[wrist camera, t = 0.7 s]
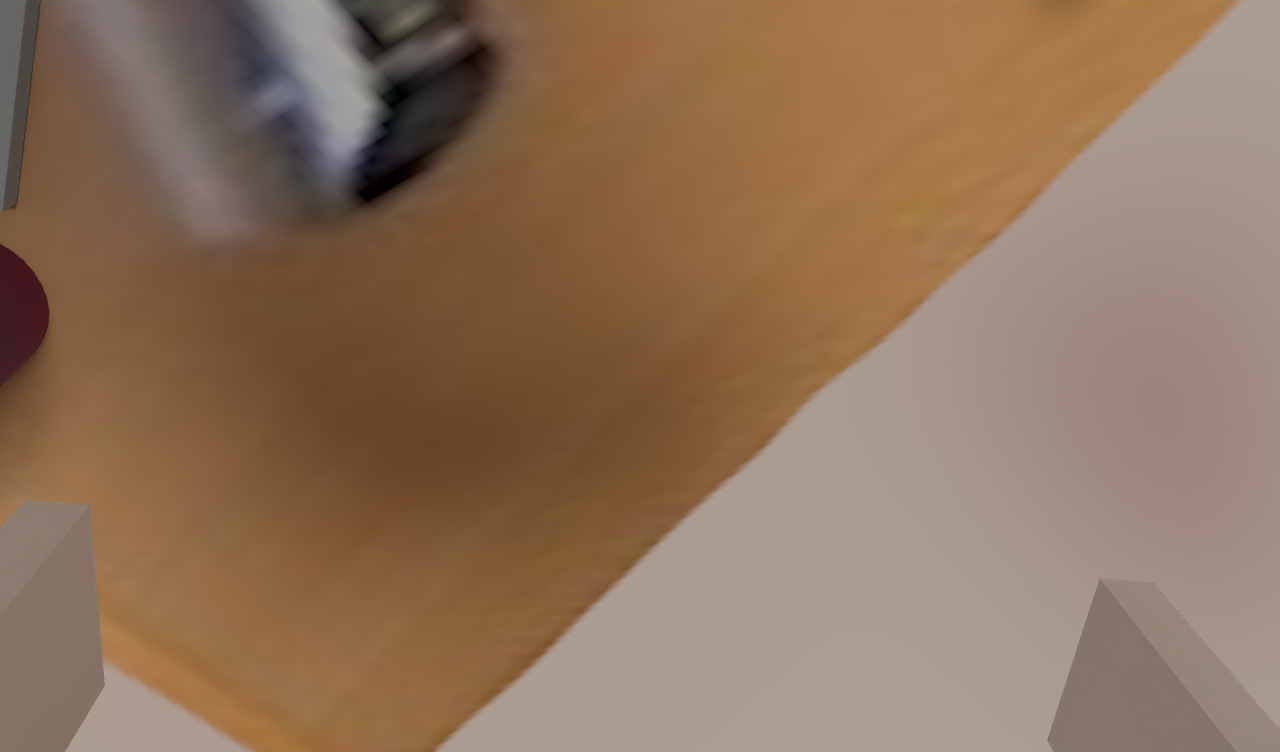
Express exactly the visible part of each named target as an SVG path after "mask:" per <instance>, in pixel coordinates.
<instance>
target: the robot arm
mask: <svg viewBox="0 0 1280 752" xmlns="http://www.w3.org/2000/svg"><path fill="white" fill-rule="evenodd" d="M103 688H104V672H103V659H102V647H101V635H100V622H99V610H98V598H97V585H96V573H95V560H94V548H93V536H92V523H91V511H90V505H86V504H72V503H59V502H45V501H31V500H25V501H24V502H23V503H22V504H21V505H20V506H19V507H18V508H17V510H16V511H15V512H14V513H13V514H12V515H11V516H10V517H9V518H8V519H7V520H6V521H5V522H4V524H3V525H2V526H1V527H0V752H65V751H66V749H67V747H68V746H69V744H70V742H71V740H72V739H73V737H74V736H75V734H76V732H77V731H78V729H79V727H80V726H81V724H82V722H83V721H84V719H85V717H86V716H87V714H88V713H89V711H90V709H91V707H92V706H93V704H94V702H95V701H96V699H97V697H98V696H99V694H100V693H101V691H102V689H103ZM1048 742H1049V744H1050V746H1051V747H1052V749H1053V751H1054V752H1280V729H1279V727H1278V726H1277V725H1276V724H1275V723H1274V722H1273V720H1271V718H1270V717H1269V716H1268V715H1267V714H1266V712H1265V711H1264V710H1263V709H1262V708H1261V707H1260V706H1259V704H1258V703H1257V702H1256V701H1255V700H1254V698H1253V697H1252V696H1251V695H1250V694H1249V693H1248V691H1247V690H1246V689H1245V688H1244V687H1243V686H1242V684H1241V683H1240V682H1239V681H1238V680H1237V679H1236V678H1235V676H1234V675H1233V674H1232V673H1231V672H1230V671H1229V669H1228V668H1227V667H1226V666H1225V665H1224V664H1223V662H1222V661H1221V660H1220V659H1219V658H1218V657H1217V656H1216V654H1215V653H1214V652H1213V651H1212V650H1211V649H1210V647H1209V646H1208V645H1207V644H1206V643H1205V642H1204V641H1203V639H1202V638H1201V637H1200V636H1199V635H1198V633H1197V632H1196V631H1195V630H1194V629H1193V628H1192V627H1191V625H1190V624H1189V623H1188V622H1187V621H1186V620H1185V618H1184V617H1183V616H1182V615H1181V614H1180V613H1179V611H1178V610H1177V609H1176V608H1175V607H1174V606H1173V604H1172V603H1171V602H1170V601H1169V600H1168V599H1167V597H1165V595H1164V594H1163V593H1162V592H1161V591H1160V590H1159V588H1158V587H1157V586H1156V585H1155V584H1154V583H1153V582H1141V581H1127V580H1114V579H1100V580H1099V583H1098V586H1097V589H1096V592H1095V595H1094V598H1093V601H1092V604H1091V607H1090V610H1089V614H1088V617H1087V620H1086V623H1085V626H1084V629H1083V632H1082V635H1081V638H1080V641H1079V644H1078V647H1077V651H1076V654H1075V657H1074V660H1073V663H1072V666H1071V669H1070V672H1069V675H1068V678H1067V681H1066V684H1065V687H1064V691H1063V694H1062V697H1061V700H1060V703H1059V706H1058V709H1057V712H1056V715H1055V718H1054V721H1053V724H1052V727H1051V731H1050V734H1049V737H1048Z"/></svg>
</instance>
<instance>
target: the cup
mask: <svg viewBox="0 0 1280 752" xmlns="http://www.w3.org/2000/svg"><path fill="white" fill-rule="evenodd" d="M47 326H48V306H47V300H46V296H45V294H44V291H43V289H42V286H41V284H40V283H39V281H38V279H37V278H36V276H35V274H34V273H33V272H32V270H31V269H30V268H29V267H28V266H27V265H26V264H25V263H24V261H23V260H21V259H20V258H19V257H18V256H16V255H15V254H14V253H13V252H11V251H10V250H8V249H6V248H5V247H3V246H1V245H0V386H1V385H2V384H3V383H4V382H5V381H6V380H7V379H8V378H9V377H10V376H11V375H12V374H13V373H14V372H15V371H16V370H17V369H18V368H19V367H20V366H21V365H22V364H23V363H24V362H25V361H26V360H27V359H28V358H29V357H30V355H31V354H32V353H33V352H34V351H35V350H36V349H37V348H38V347H39V345H40V344H41V342H42V340H43V338H44V336H45V333H46V329H47Z"/></svg>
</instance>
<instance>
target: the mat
mask: <svg viewBox="0 0 1280 752" xmlns="http://www.w3.org/2000/svg"><path fill="white" fill-rule="evenodd" d="M39 6H40V0H0V211H4V210H6V209H8V208H10V207H12V206H14V205H16V204H17V195H18V187H19V178H20V169H21V161H22V152H23V144H24V135H25V126H26V118H27V109H28V101H29V92H30V83H31V75H32V66H33V58H34V49H35V40H36V32H37V23H38V15H39Z"/></svg>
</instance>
